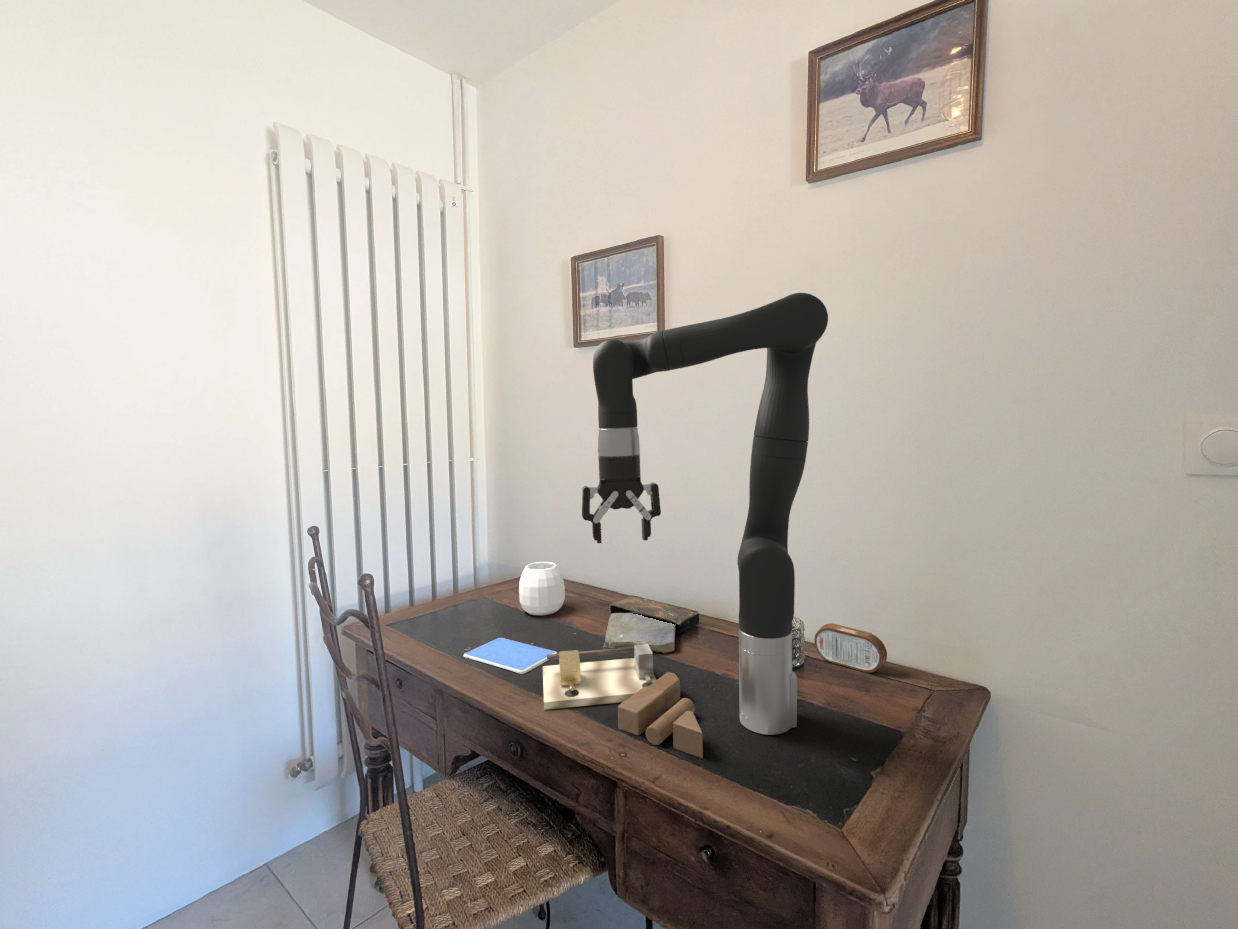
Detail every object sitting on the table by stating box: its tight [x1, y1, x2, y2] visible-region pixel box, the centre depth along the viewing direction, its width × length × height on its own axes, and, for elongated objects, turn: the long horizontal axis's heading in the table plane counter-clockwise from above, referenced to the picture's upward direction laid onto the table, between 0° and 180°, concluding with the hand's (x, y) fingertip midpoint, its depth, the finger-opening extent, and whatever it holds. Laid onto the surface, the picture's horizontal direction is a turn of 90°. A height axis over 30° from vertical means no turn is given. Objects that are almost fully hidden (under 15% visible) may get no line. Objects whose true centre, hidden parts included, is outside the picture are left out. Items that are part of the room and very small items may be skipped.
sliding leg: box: [558, 649, 581, 692], centre depth 116 cm, size 4×8×5 cm, turn 8°
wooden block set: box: [617, 671, 704, 759], centre depth 104 cm, size 17×6×18 cm
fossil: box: [603, 612, 676, 654], centre depth 143 cm, size 20×5×17 cm
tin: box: [814, 623, 888, 674], centre depth 124 cm, size 15×3×8 cm, turn 47°
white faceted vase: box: [518, 561, 566, 616], centre depth 164 cm, size 13×13×14 cm
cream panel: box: [542, 644, 657, 711], centre depth 118 cm, size 23×16×7 cm
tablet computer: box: [463, 637, 558, 675], centre depth 135 cm, size 19×13×1 cm, turn 57°
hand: (622, 541), depth 105 cm, fingers open, 8 cm apart
